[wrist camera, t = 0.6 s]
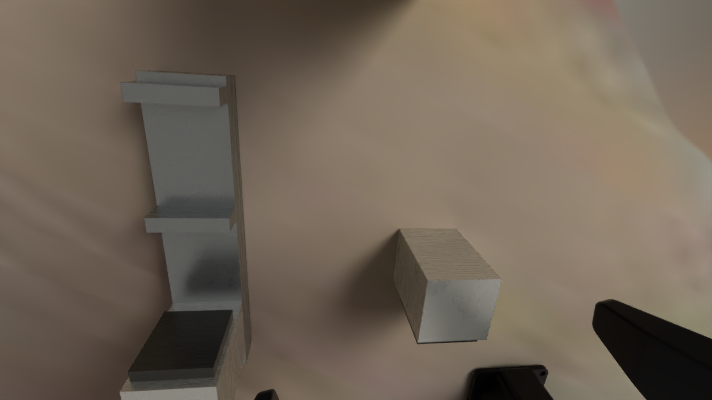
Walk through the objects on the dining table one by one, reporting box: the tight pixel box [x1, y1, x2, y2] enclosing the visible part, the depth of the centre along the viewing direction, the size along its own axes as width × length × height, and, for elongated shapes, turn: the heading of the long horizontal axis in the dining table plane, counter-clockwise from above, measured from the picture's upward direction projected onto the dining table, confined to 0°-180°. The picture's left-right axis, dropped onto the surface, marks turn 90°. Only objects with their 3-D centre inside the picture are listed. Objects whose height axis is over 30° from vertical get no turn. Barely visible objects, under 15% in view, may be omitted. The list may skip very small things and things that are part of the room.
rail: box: [120, 71, 251, 400], centre depth 17 cm, size 18×4×8 cm, turn 176°
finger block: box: [393, 228, 502, 344], centre depth 21 cm, size 5×4×6 cm
